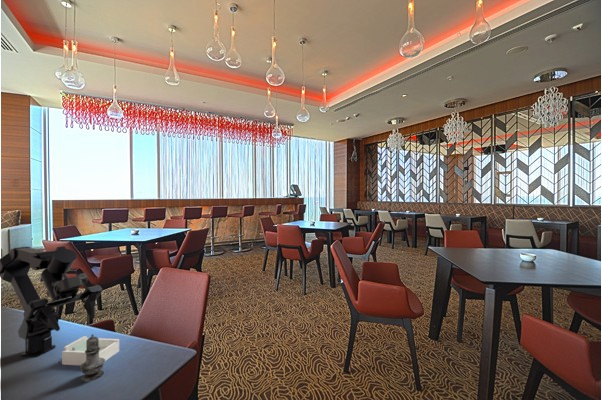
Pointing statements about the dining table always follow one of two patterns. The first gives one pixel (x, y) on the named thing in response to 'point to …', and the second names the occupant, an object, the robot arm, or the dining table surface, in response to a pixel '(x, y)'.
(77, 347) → the bar
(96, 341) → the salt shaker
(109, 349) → the box
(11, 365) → the dining table surface
